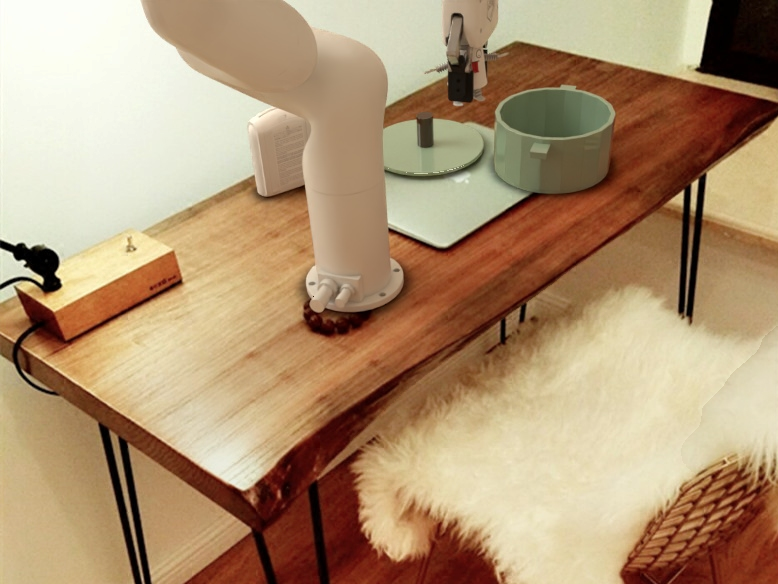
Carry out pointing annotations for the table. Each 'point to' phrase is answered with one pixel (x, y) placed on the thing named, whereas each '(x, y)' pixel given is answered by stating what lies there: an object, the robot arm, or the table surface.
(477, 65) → the toy figure
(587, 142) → the pot
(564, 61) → the table surface
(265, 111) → the photo printer
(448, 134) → the lid
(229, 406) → the table surface
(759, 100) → the table surface
